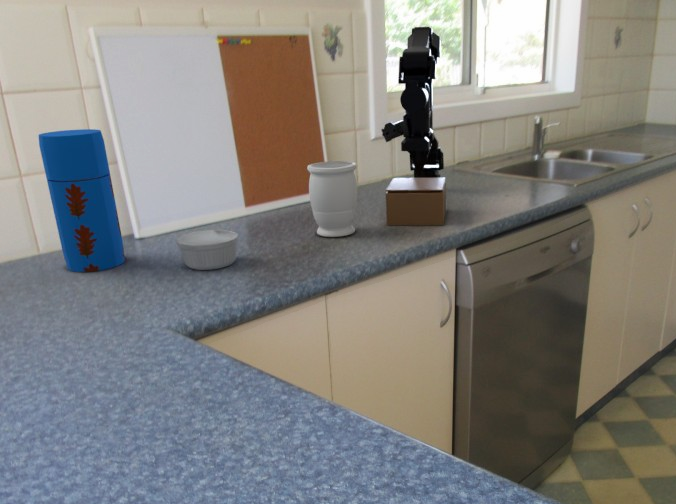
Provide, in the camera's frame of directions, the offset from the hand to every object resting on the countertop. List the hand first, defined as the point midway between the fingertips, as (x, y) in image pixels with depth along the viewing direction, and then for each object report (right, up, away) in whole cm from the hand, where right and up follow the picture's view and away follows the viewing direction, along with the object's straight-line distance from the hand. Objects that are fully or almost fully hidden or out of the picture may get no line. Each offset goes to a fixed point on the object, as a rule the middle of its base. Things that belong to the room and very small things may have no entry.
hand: (418, 175), depth 160 cm
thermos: (-64, -23, -30) cm, 74 cm away
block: (0, -9, +1) cm, 9 cm away
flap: (0, -2, -2) cm, 2 cm away
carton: (0, -10, -2) cm, 11 cm away
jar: (-19, -15, -13) cm, 28 cm away
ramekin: (-41, -23, -32) cm, 57 cm away
